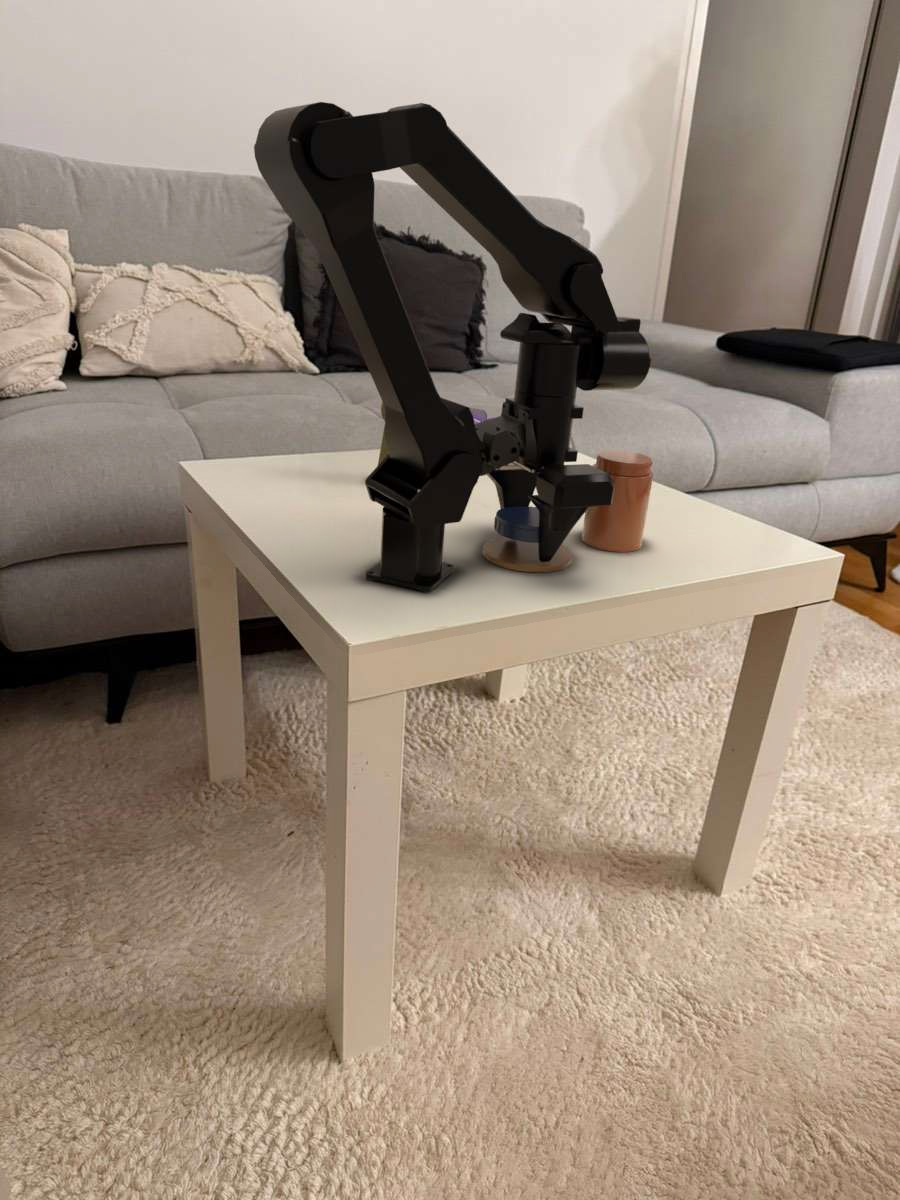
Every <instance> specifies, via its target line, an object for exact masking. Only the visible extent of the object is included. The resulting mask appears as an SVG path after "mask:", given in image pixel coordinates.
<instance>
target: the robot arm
mask: <svg viewBox="0 0 900 1200" xmlns="http://www.w3.org/2000/svg"><path fill="white" fill-rule="evenodd" d="M253 150H254V151H253V152H254V159H255V162H256V165H257V168H258V171H259V173H260V175H261V177H262V178H263V180H264V181H265V183H266V184H267V186H268V188H269V189H270V191H271V192H272V194H273V195H274V197H275V198H276V200H277V202H278V203H279V205H280V206H281V208H282V210H283V211H284V213H285V214H286V216H288V217H289V218H290V220H291V221H292V222H293V223H294V224H295V225H296V227H297V228H298V229H299V230H300V231H301V232H302V234H303V235H304V236H305V237H306V238H307V239H308V240H309V241H310V243H311V244H312V245H313V246H314V249H315V250H316V252H317V254H318V256H319V258H320V260H321V262H322V265H323V267H324V269H325V272H326V274H327V276H328V279H329V281H330V284H331V286H332V288H333V290H334V293H335V295H336V297H337V299H338V302H339V304H340V307H341V309H342V312H343V314H344V316H345V318H346V321H347V323H348V325H349V327H350V330H351V333H352V335H353V337H354V339H355V341H356V344H357V346H358V348H359V351H360V353H361V356H362V357H363V359H364V362H365V365H366V367H367V369H368V371H369V375H370V376H371V378H372V380H373V383H374V385H375V388H376V389H377V392H378V394H379V397H380V400H381V401H382V402H383V404H384V407H385V412H386V413H385V420H384V426H385V434H384V436H385V441H386V445H387V449H388V453H389V454H388V455H387V456H386V457H385V458H384V459H383V461H382V462H381V463H380V464H379V465H378V464H377V466H376V467H375V468H374V469H373V470H372V472H370V474H369V475H368V476H367V477H366V478H365V479H364V484H365V487H366V491H367V494H368V498H369V500H370V501H371V502H375V503H377V504H379V505H380V506H382V514H381V515H382V516H381V517H382V518H381V534H380V535H381V536H380V538H381V539H380V561H378V563H376V564H374V566H372V567H370V568H369V569H367V570H366V571H365V572H364V578H366V579H368V580H373V581H378V582H382V583H387V584H391V585H396V586H400V587H405V588H410V589H413V590H419V591H423V592H431V591H433V590H434V589H435V588H436V587H437V586H438V585H440V584H441V583H442V582H443V581H444V580H445V579H446V578H447V577H449V576H450V575H451V574H452V573H453V572H455V567H456V566H455V565H454V564H453V563H448V562H443V559H444V558H443V556H444V544H445V531H446V524H447V525H448V524H455V523H460V522H461V521H462V519H463V518H464V517H463V516H464V514H465V511H466V508H467V506H468V504H469V501H470V498H471V496H472V493H473V491H474V488H475V487H476V485H477V483H478V481H479V478H480V477H483V476H487V477H488V478H489V479H490V480H491V481H492V482H493V484H494V486H495V489H496V493H497V497H498V502H499V503H498V504H499V507H500V509H502V508H506V507H514V506H528V507H530V504H531V503H532V504H533V505H534V507H536V508H537V509H538V510H539V541H538V550H539V560H540V561H541V562H549V561H550V560H551V559H552V558H553V556H554V555H555V553H556V552H557V550H558V549H559V547H560V546H561V545H562V544H563V543H564V541H565V540H566V538H567V537H568V535H569V534H570V532H571V531H572V530H573V528H574V527H575V526H576V525H577V523H578V522H579V521H580V519H582V517H583V516H584V515H585V512H586V511H587V509H588V508H589V507H594V506H602V505H611V504H612V502H613V496H614V489H615V482H614V481H613V479H612V478H611V477H610V475H609V474H608V473H606V472H604V471H602V470H600V469H598V468H595V467H593V466H592V465H591V464H589V463H584V464H583V463H580V464H579V463H578V464H565V463H575V462H576V463H577V462H578V461H577V460H578V453H579V451H578V450H576V449H574V448H571V447H570V444H571V436H572V430H573V422H574V420H577V419H579V420H581V419H583V417H584V408H585V407H583V406H580V405H578V404H576V399H577V391H578V389H580V390H581V391H583V392H589V391H615V390H618V391H620V390H634V389H636V388H638V387H639V386H640V385H641V384H642V383H643V381H645V380H646V377H647V376H648V375H649V372H650V367H651V364H652V363H651V361H652V357H651V355H650V348H649V344H648V341H647V340H646V338H645V337H644V336H643V334H642V333H641V332H640V329H641V323H642V321H641V319H640V318H635V317H630V316H617V314H616V311H615V308H614V305H613V304H612V301H611V298H610V295H609V293H608V290H607V288H606V285H605V283H604V280H603V276H602V275H603V274H604V268H603V265H602V262H601V260H600V259H599V257H598V256H597V255H596V253H594V252H592V251H591V250H590V249H588V248H587V247H586V246H585V245H583V244H581V243H580V242H578V241H577V240H576V239H574V237H571V236H569V235H567V234H565V233H564V232H561V231H559V230H557V229H554V228H553V227H550V226H548V225H546V224H545V223H544V222H542V221H540V220H539V219H537V218H536V217H535V216H534V215H533V213H531V211H530V210H528V208H527V207H526V206H525V205H523V203H522V202H521V201H520V200H519V199H518V198H517V197H516V196H515V195H514V194H513V193H512V192H511V191H510V190H509V188H508V187H506V186H505V184H504V183H503V182H502V181H501V180H500V179H499V178H498V177H497V176H496V175H495V174H494V173H493V172H492V170H491V169H489V167H488V166H487V165H486V164H485V163H484V162H483V161H482V160H481V159H480V158H479V157H478V155H476V154H475V152H473V151H472V150H471V148H469V147H468V146H467V144H466V143H465V142H464V141H463V140H462V139H461V138H460V137H459V136H458V134H456V133H455V132H454V130H452V129H451V128H450V126H449V125H448V124H447V120H446V118H445V117H444V115H443V114H442V113H441V111H439V110H438V109H437V108H435V107H434V106H432V105H431V104H429V103H424V102H419V103H413V104H406V105H399V106H395V107H392V108H389V109H388V110H386V111H383V112H382V111H381V112H376V113H369V114H361V115H353V114H352V113H351V112H350V111H347V110H345V109H344V108H342V107H341V106H338V105H336V104H335V103H332V102H326V101H325V102H324V101H318V102H313V103H307V104H302V105H297V106H292V107H291V106H290V107H286V108H282V109H279V110H275V111H274V112H272V113H271V114H270V115H268V116H267V117H266V118H265V119H264V121H263V122H262V124H261V125H260V127H259V128H258V132H257V136H256V139H255V143H254V146H253ZM398 168H400V170H402V171H403V172H404V174H406V175H407V177H409V178H410V179H411V180H412V181H413V182H414V183H415V184H416V185H417V186H418V187H419V188H421V189H422V191H424V192H425V193H426V194H427V195H428V196H429V197H430V198H431V199H432V200H433V201H434V202H435V203H436V204H437V205H438V206H439V207H441V209H442V210H443V211H444V212H446V214H448V215H449V216H450V217H451V218H452V219H453V220H454V221H455V222H456V223H457V224H458V225H459V226H461V227H462V229H464V230H465V231H466V232H467V233H468V234H469V235H470V236H471V237H472V238H473V239H474V240H475V241H476V242H477V243H478V244H480V246H481V247H483V249H484V250H486V252H488V253H489V255H490V256H491V257H492V259H493V260H494V261H495V263H496V264H497V266H498V270H499V273H500V276H501V279H502V282H503V283H504V284H505V286H506V288H507V289H508V290H509V291H510V293H511V294H512V295H513V297H514V298H515V300H516V301H517V302H518V304H519V305H520V306H521V307H522V308H523V309H524V310H526V311H528V312H532V313H536V314H537V313H538V314H539V315H541V316H542V317H543V318H544V319H545V320H546V321H547V322H540V320H539V319H538V317H537V315H535V314H530V313H525V312H519V314H518V315H517V316H516V318H515V319H514V320H513V321H512V322H510V323H509V324H507V325H506V326H505V327H504V328H503V329H502V330H501V331H500V334H499V336H500V338H502V339H503V340H507V341H508V340H509V341H513V342H517V343H519V346H518V359H517V368H516V379H515V386H514V387H515V388H514V395H513V397H505V401H503V403H502V405H501V413H500V415H499V416H496V417H492V418H493V419H489V418H487V419H488V420H485V421H482V422H480V423H477V424H475V423H474V418H473V415H472V413H471V411H470V408H471V407H469V406H467V405H463V404H461V403H458V402H456V401H452V400H450V399H447V398H443V397H442V396H440V394H439V392H438V389H437V388H436V385H435V382H434V380H433V376H432V375H431V372H430V369H429V367H428V365H427V362H426V359H425V356H424V354H423V351H422V349H421V345H420V344H419V341H418V338H417V336H416V333H415V330H414V327H413V325H412V323H411V320H410V318H409V315H408V312H407V310H406V307H405V305H404V302H403V299H402V297H401V295H400V292H399V289H398V286H397V284H396V282H395V279H394V277H393V273H392V271H391V268H390V266H389V264H388V260H387V258H386V255H385V252H384V250H383V247H382V245H381V242H380V240H379V237H378V235H377V231H376V227H375V193H376V192H375V191H376V190H375V186H376V185H375V179H374V175H373V173H379V172H384V171H391V170H394V169H398ZM567 326H568V327H571V330H569V329H568V327H567ZM382 402H381V403H382ZM543 467H544V468H543ZM535 490H536V493H537V494H534V493H535Z"/></svg>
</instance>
